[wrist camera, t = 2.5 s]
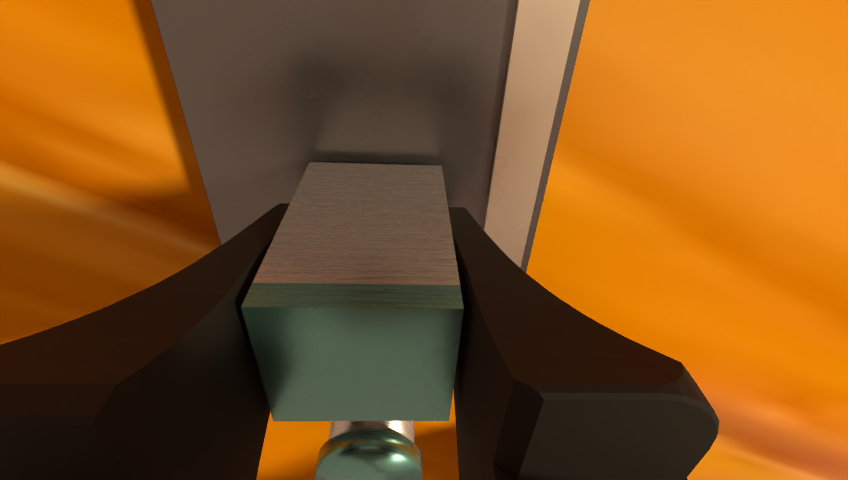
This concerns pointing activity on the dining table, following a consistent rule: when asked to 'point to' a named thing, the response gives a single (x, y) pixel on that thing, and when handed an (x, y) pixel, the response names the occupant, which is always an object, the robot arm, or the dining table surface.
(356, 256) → the leg
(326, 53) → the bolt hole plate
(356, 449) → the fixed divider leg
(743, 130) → the dining table surface
